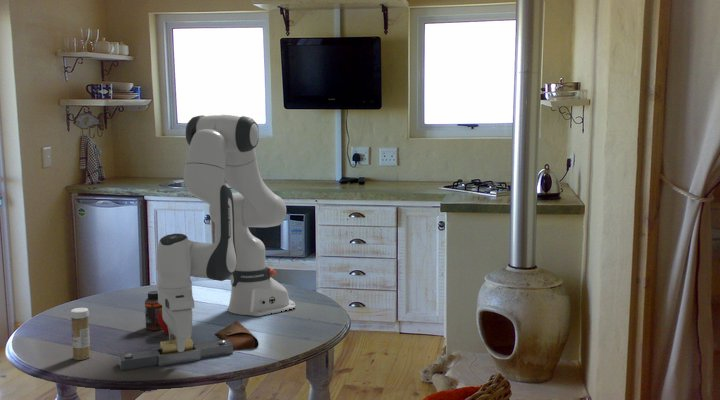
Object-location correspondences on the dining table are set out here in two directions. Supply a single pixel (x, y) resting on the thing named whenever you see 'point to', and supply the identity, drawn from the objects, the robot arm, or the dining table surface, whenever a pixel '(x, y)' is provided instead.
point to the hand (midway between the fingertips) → (176, 345)
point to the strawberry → (162, 322)
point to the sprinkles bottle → (80, 333)
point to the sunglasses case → (238, 336)
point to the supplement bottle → (152, 311)
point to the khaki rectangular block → (175, 346)
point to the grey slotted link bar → (174, 355)
